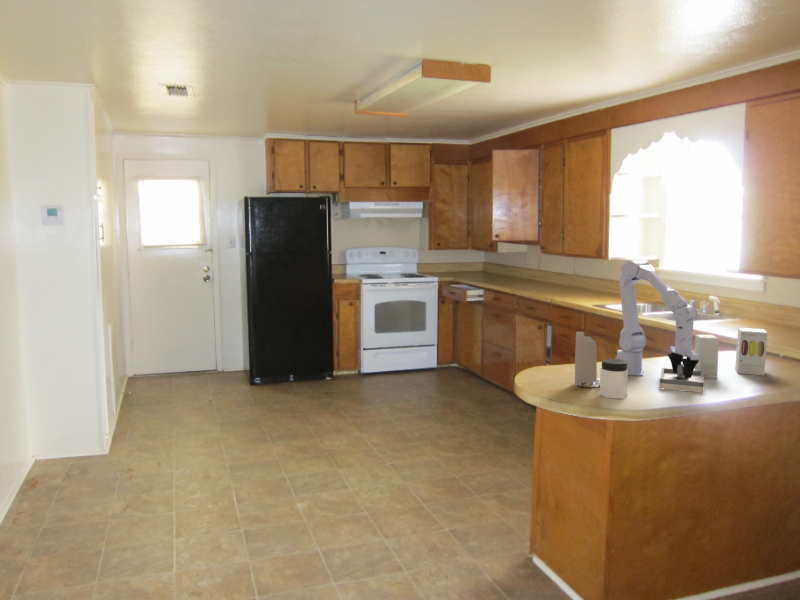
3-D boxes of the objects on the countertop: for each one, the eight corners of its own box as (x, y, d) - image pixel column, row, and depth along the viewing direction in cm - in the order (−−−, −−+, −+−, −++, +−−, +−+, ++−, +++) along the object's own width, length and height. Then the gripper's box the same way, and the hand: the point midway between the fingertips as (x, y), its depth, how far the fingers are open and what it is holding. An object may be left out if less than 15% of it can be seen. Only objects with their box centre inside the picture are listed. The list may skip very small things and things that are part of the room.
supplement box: (737, 373, 246) (739, 330, 244) (734, 368, 254) (737, 327, 252) (765, 375, 242) (768, 332, 240) (761, 370, 251) (764, 328, 248)
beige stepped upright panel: (616, 387, 227) (618, 332, 224) (577, 387, 227) (579, 332, 224) (609, 382, 234) (611, 328, 232) (572, 382, 234) (573, 329, 231)
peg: (679, 385, 229) (680, 366, 228) (674, 382, 232) (675, 364, 232) (688, 384, 230) (689, 365, 229) (683, 382, 233) (684, 363, 232)
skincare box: (717, 379, 237) (719, 338, 235) (698, 378, 239) (700, 337, 237) (711, 373, 246) (713, 334, 244) (693, 373, 247) (695, 333, 245)
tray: (659, 388, 225) (660, 378, 224) (661, 376, 241) (662, 367, 241) (703, 392, 219) (703, 382, 219) (702, 380, 235) (702, 371, 235)
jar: (606, 390, 222) (607, 357, 221) (629, 394, 217) (631, 360, 216) (596, 396, 216) (597, 361, 214) (619, 400, 210) (621, 365, 209)
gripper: (662, 335, 236) (661, 370, 237) (684, 342, 221) (682, 380, 223) (680, 334, 236) (679, 370, 238) (703, 342, 222) (701, 379, 224)
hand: (681, 375), depth 231 cm, fingers open, 7 cm apart
